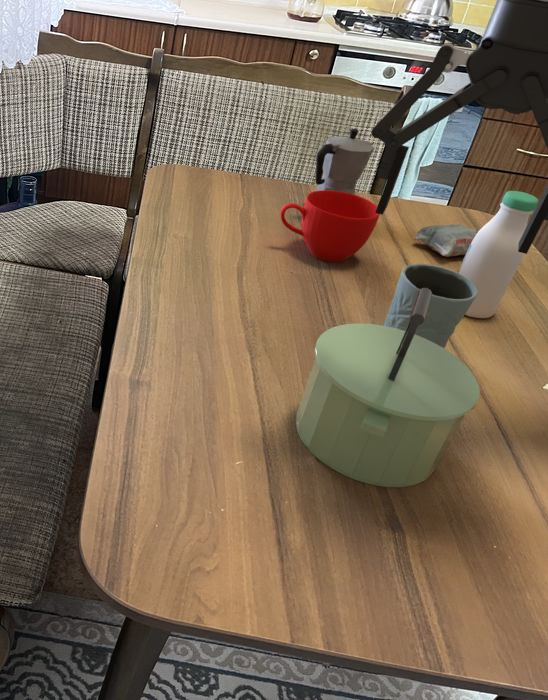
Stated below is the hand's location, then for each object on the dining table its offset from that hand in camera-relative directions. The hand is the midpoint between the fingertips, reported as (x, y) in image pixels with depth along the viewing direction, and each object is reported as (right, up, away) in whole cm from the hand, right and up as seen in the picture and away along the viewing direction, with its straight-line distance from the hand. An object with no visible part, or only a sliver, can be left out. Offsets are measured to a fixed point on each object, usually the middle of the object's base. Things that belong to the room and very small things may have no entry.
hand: (449, 228), depth 70 cm
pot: (-2, -23, +15) cm, 28 cm away
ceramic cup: (+7, +6, +59) cm, 59 cm away
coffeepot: (+14, +16, +75) cm, 77 cm away
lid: (-1, -15, +9) cm, 17 cm away
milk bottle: (+28, -5, +46) cm, 54 cm away
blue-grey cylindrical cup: (+12, -13, +33) cm, 37 cm away
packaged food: (+34, +7, +64) cm, 73 cm away
